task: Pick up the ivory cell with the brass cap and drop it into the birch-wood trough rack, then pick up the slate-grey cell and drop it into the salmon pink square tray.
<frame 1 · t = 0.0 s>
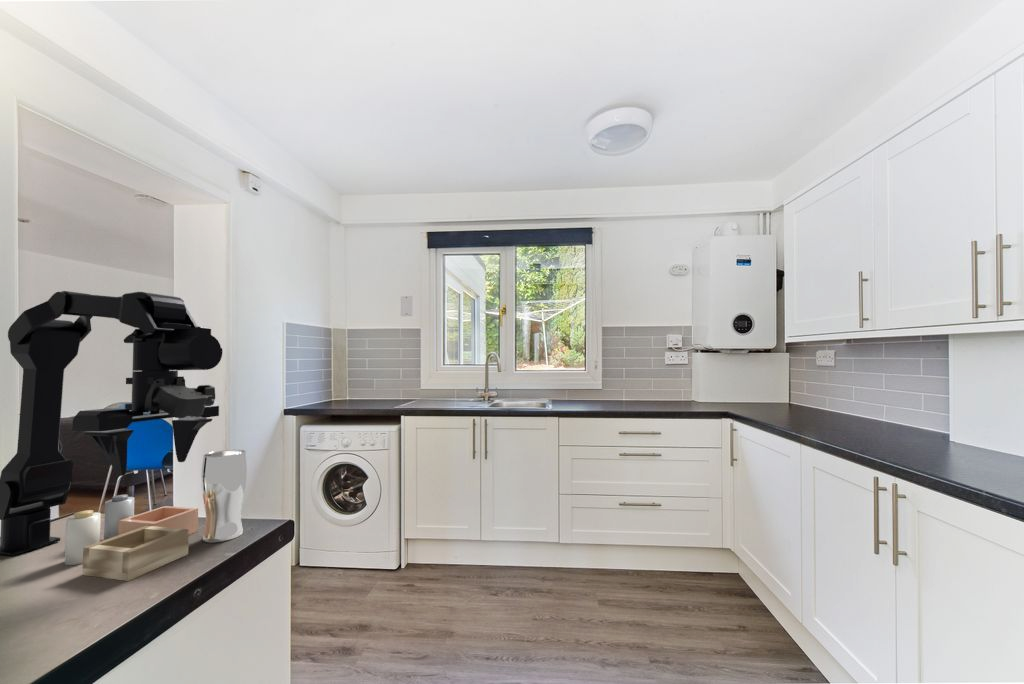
hand: (153, 468, 70), 15 cm above the counter, fingers open, 9 cm apart
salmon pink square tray: (159, 537, 79), on the counter
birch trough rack: (137, 564, 68), on the counter
beer glass: (223, 537, 79), on the counter
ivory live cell: (82, 559, 70), on the counter
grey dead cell: (118, 538, 79), on the counter
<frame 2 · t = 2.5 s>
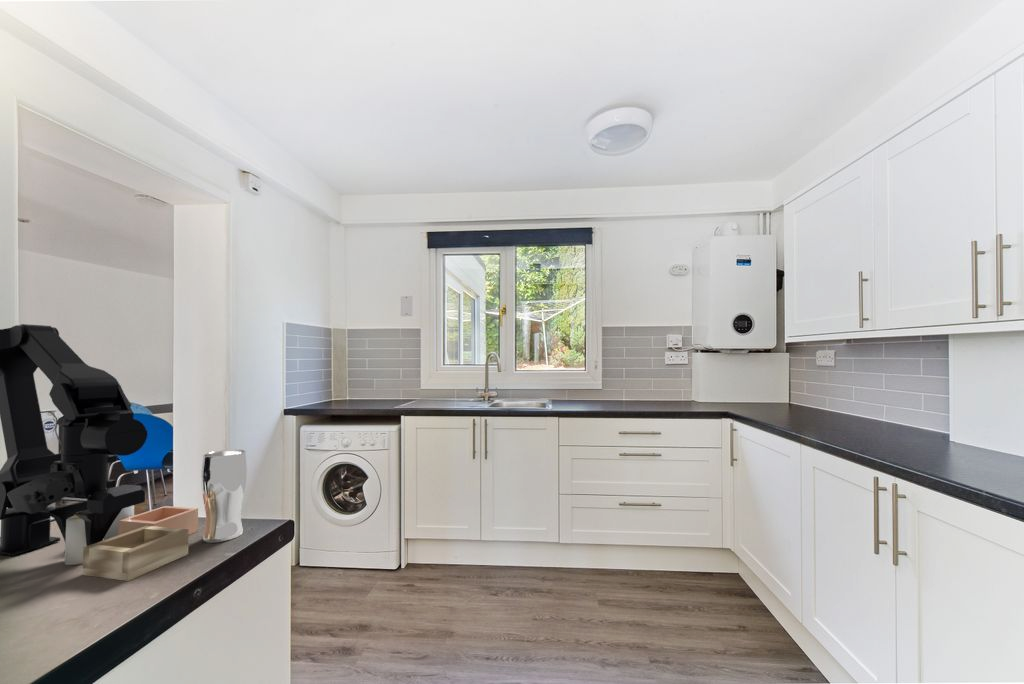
hand: (82, 549, 70), 2 cm above the counter, fingers closed on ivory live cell, 4 cm apart
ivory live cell: (82, 559, 70), on the counter, touching gripper
everything else where it was.
when the fingers open (5 cm above the counter, at t = 6.1 s): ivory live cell drops 2 cm, resting on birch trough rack.
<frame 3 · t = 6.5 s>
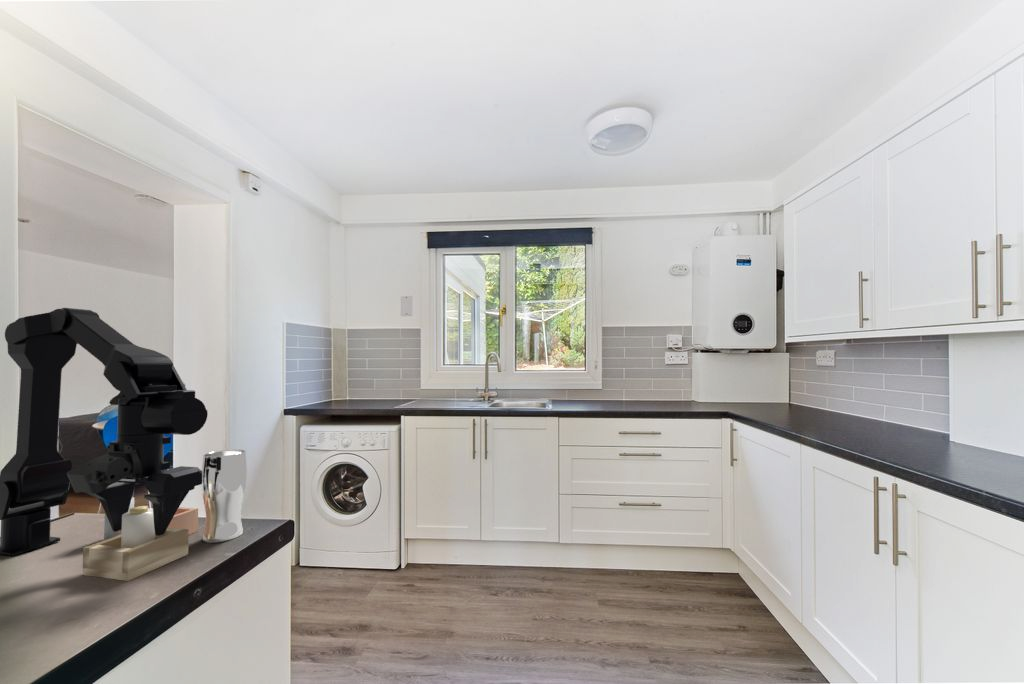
hand: (138, 532, 68), 5 cm above the counter, fingers open, 8 cm apart
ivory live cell: (137, 556, 68), point 1 cm above the counter, touching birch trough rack
everything else where it was.
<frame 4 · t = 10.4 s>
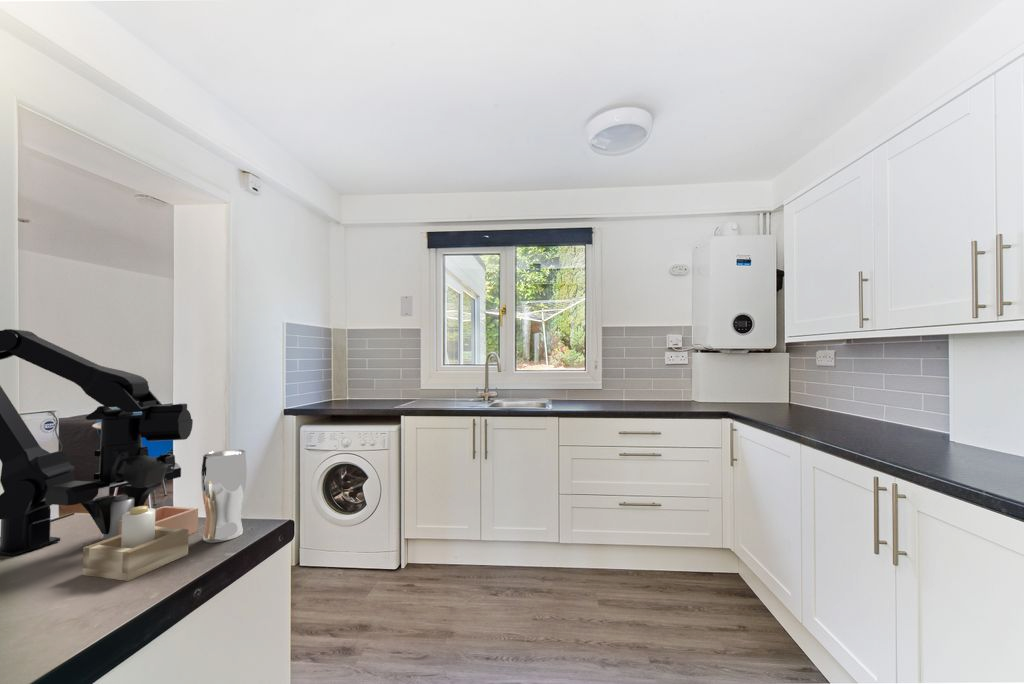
hand: (119, 529, 79), 2 cm above the counter, fingers closed on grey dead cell, 4 cm apart
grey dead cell: (118, 538, 79), on the counter, touching gripper
everything else where it was.
when the fingers open (5 cm above the counter, at t = 13.6 s): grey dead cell drops 3 cm, resting on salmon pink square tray.
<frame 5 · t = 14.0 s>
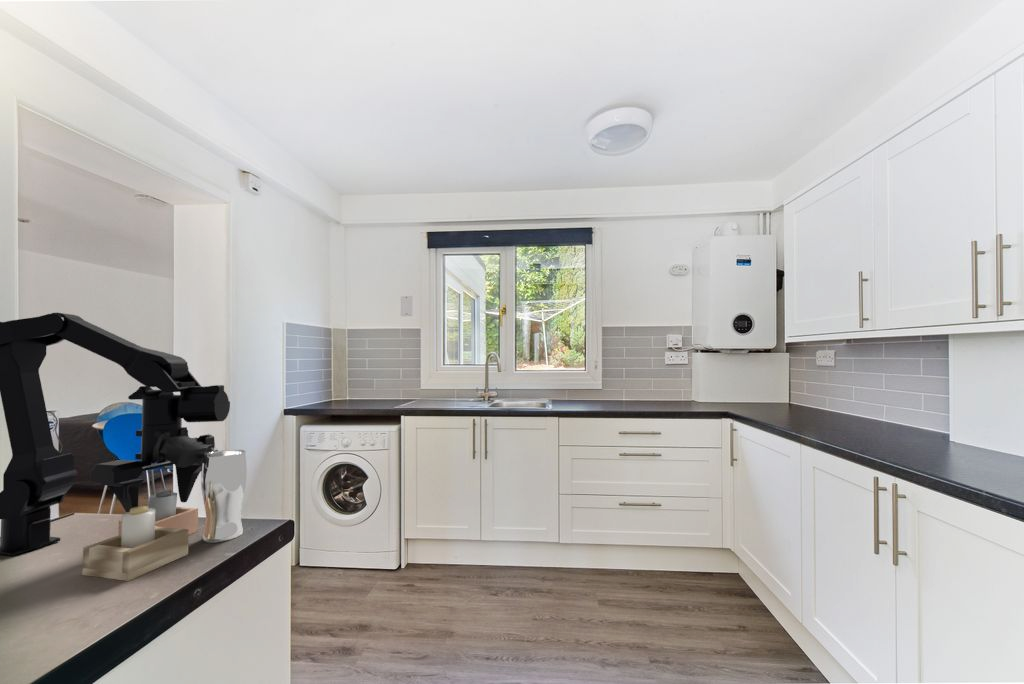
hand: (159, 509, 79), 5 cm above the counter, fingers open, 9 cm apart
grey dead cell: (160, 533, 79), point 1 cm above the counter, touching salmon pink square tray
everything else where it was.
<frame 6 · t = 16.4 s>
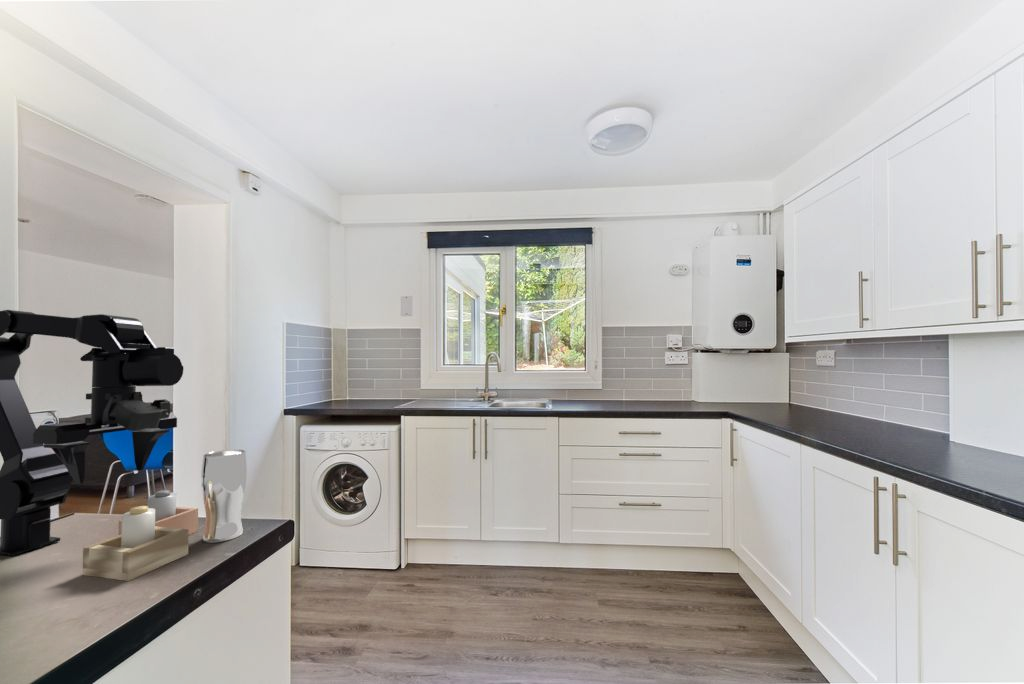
hand: (111, 476, 75), 12 cm above the counter, fingers open, 9 cm apart
nothing on the counter moved.
at the end: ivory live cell 0.0 cm off-centre on the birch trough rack, point 1.2 cm above the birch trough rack's base; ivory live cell tilted 0°; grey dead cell 0.2 cm off-centre on the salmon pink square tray, point 0.7 cm above the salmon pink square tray's base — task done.
